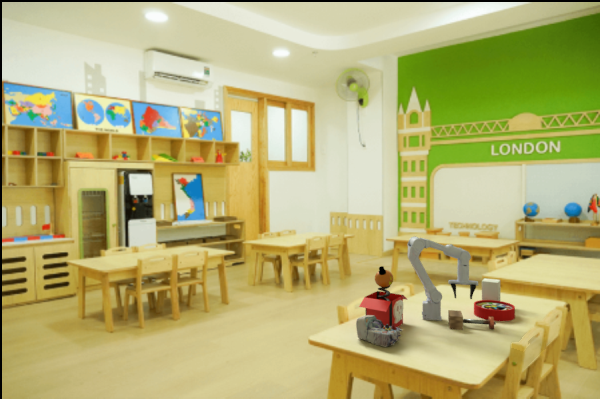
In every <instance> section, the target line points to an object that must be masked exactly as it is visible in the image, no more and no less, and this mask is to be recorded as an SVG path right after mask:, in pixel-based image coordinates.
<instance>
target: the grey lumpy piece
mask: <svg viewBox="0 0 600 399" xmlns="http://www.w3.org/2000/svg"><path fill="white" fill-rule="evenodd" d="M355 326H356V333H357V334H356V335H357V338H358V339H359V340H364V341H366V342H368V343H370V342H371V343H370V344H372V343H373V344H372V345H375V344H376V346H379V345H380V346H379V347H384V348H387V347H390V346H395V344H396V342H397V341H399V342H400V338H399V337H402V334H401V332H403V329H402V328H400V327H395V325H394V324H392V326H389V324H386V326H384V324H383V323H382V321H380V320H377V319H376V317H375V316H374V315H366V314H365V315H363V316H361V317H358V318H357V319H356V322H355Z"/></svg>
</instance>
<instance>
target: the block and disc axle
mask: <svg viewBox="0 0 600 399" xmlns="http://www.w3.org/2000/svg"><path fill="white" fill-rule="evenodd" d="M463 324H473V325H485V326H486V325H488V329H489V330H495V326H496V325H497V321H494V317H490V316H489V318H488V320H486V319H473V318H471V319H470V318H463Z"/></svg>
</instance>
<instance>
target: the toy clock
mask: <svg viewBox="0 0 600 399" xmlns="http://www.w3.org/2000/svg"><path fill="white" fill-rule="evenodd" d="M515 308H516V306H515V305H514V304H512V303H511V302H510V303H509V302H506V301H501V300H500V301H495V300H482V299H480V300H476V301H474V303H473V315H474V316H476V317H477V318H479V319H481V320H488V318H489V316H490V317H494V321H496V322H509V321H510V322H511V321H514V320H515V317H516V309H515Z"/></svg>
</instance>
